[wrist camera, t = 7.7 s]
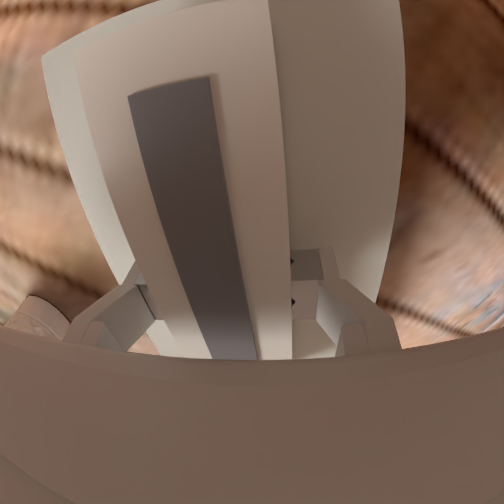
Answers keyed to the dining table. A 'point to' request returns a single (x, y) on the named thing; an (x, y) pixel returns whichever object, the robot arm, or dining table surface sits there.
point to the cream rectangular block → (199, 171)
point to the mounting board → (286, 139)
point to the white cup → (39, 319)
